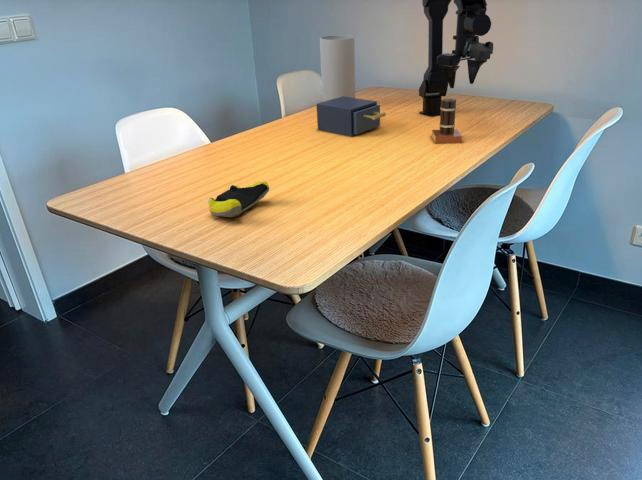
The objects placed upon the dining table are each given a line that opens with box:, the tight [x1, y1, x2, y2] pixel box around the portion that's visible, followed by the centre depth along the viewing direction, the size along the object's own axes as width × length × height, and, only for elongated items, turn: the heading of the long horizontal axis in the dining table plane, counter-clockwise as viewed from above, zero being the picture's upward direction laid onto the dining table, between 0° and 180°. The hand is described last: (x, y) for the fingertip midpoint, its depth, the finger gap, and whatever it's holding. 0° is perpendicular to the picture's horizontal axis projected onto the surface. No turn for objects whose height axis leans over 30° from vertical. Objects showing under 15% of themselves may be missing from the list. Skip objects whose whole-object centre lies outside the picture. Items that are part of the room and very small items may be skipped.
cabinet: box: [316, 96, 378, 138], centre depth 184 cm, size 15×14×9 cm
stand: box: [431, 128, 463, 144], centre depth 172 cm, size 8×8×2 cm
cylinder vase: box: [319, 34, 356, 102], centre depth 206 cm, size 12×12×25 cm
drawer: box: [352, 104, 387, 135], centre depth 181 cm, size 18×12×7 cm
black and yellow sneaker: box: [206, 181, 270, 218], centre depth 125 cm, size 15×6×10 cm
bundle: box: [438, 97, 457, 135], centre depth 169 cm, size 5×5×10 cm
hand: (461, 85), depth 174 cm, fingers open, 9 cm apart
